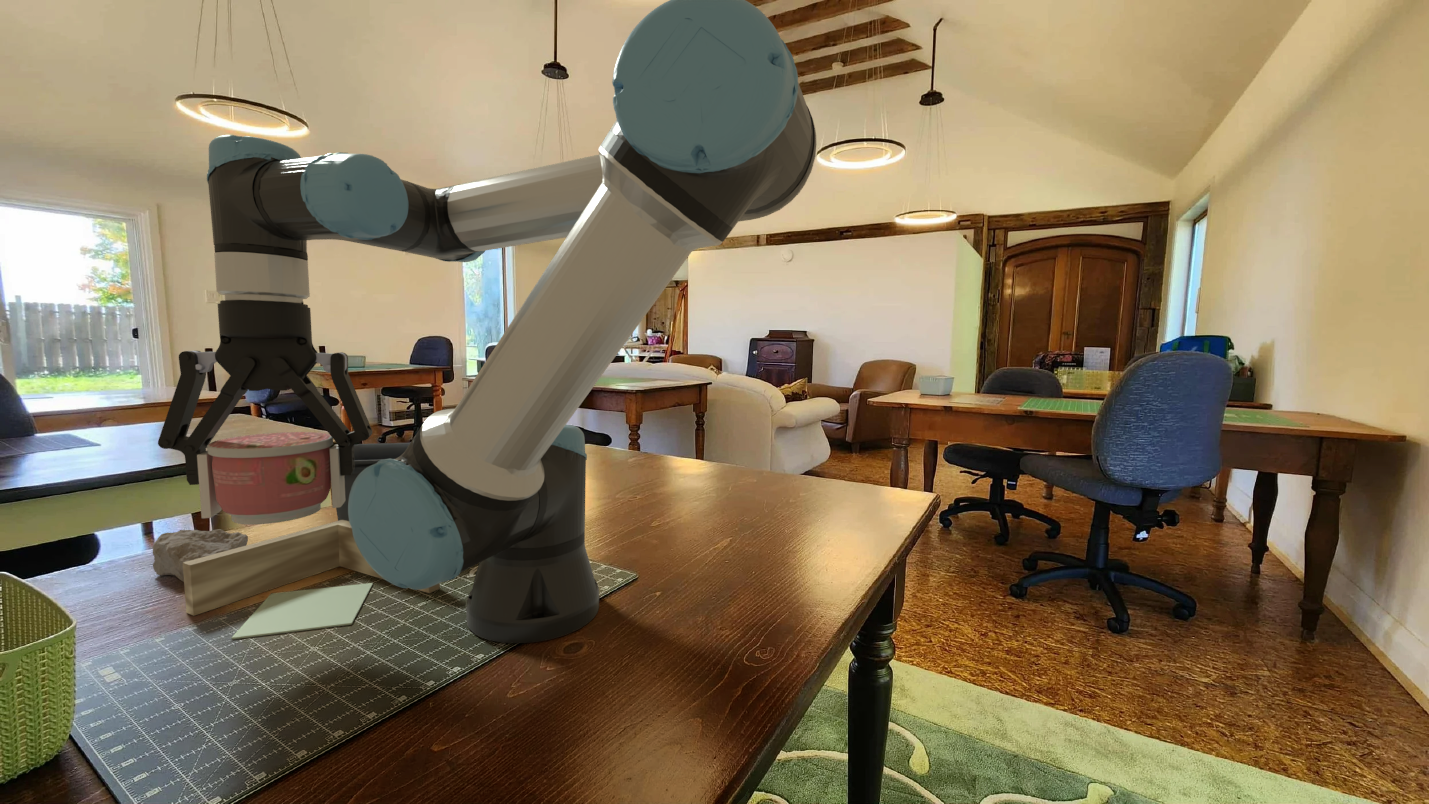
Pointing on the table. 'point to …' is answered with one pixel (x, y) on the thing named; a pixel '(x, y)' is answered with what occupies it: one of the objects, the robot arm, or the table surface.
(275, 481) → the container
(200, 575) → the corner walls
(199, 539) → the stone
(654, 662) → the table surface
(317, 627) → the plate
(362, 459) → the storage bin
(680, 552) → the table surface
